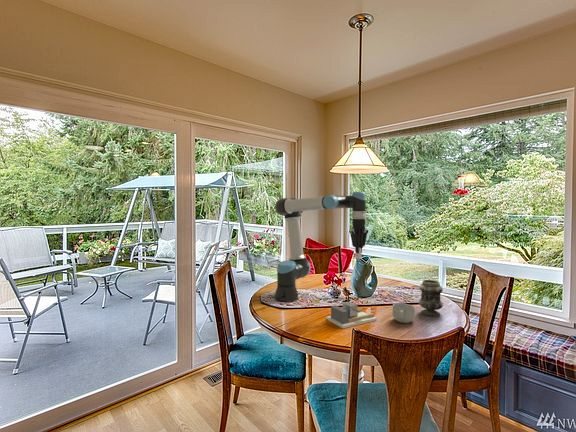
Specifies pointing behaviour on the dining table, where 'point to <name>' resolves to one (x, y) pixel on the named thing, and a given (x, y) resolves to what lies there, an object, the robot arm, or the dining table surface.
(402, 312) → the teacup
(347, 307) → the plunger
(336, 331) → the dining table surface
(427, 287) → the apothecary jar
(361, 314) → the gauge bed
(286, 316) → the dining table surface
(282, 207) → the robot arm
